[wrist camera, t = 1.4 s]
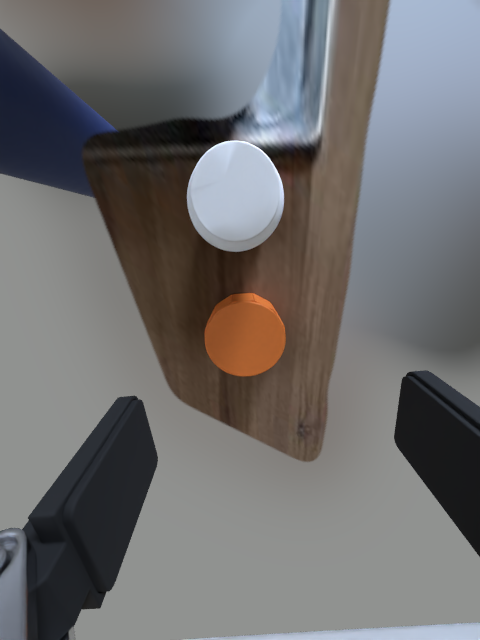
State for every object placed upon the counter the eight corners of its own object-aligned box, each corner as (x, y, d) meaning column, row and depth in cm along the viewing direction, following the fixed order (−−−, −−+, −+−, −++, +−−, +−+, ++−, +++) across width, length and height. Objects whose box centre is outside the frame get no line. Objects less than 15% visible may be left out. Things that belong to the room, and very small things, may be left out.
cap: (197, 342, 27) (191, 357, 24) (227, 280, 25) (226, 287, 22) (258, 369, 28) (261, 387, 25) (293, 313, 26) (301, 324, 23)
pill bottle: (275, 180, 22) (309, 132, 12) (263, 250, 24) (284, 263, 14) (206, 169, 22) (178, 108, 11) (200, 241, 24) (171, 247, 13)
